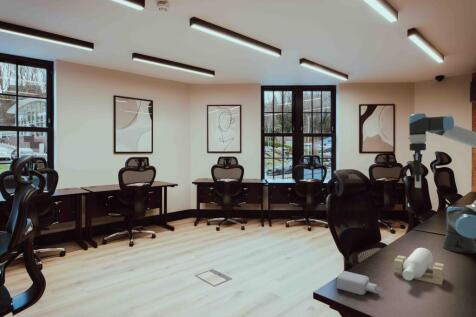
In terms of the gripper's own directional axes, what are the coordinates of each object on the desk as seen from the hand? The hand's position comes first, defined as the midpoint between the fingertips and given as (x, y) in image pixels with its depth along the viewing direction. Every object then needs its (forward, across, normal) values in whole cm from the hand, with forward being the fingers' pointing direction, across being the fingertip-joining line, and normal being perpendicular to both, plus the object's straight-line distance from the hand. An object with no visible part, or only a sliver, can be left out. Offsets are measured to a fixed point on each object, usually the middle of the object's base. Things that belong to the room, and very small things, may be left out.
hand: (418, 187), depth 158 cm
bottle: (+29, +24, +4) cm, 38 cm away
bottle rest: (+34, +38, +3) cm, 51 cm away
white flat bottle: (+34, +66, -14) cm, 75 cm away
